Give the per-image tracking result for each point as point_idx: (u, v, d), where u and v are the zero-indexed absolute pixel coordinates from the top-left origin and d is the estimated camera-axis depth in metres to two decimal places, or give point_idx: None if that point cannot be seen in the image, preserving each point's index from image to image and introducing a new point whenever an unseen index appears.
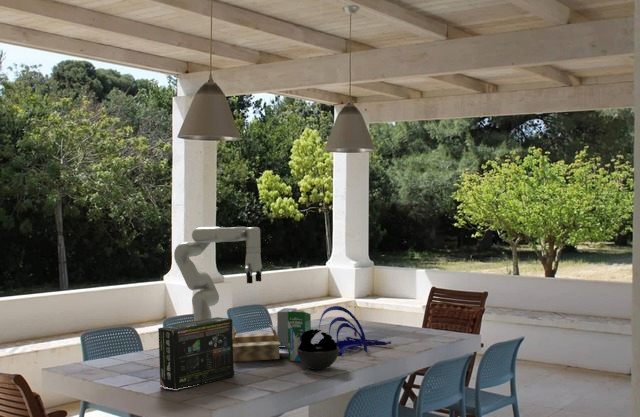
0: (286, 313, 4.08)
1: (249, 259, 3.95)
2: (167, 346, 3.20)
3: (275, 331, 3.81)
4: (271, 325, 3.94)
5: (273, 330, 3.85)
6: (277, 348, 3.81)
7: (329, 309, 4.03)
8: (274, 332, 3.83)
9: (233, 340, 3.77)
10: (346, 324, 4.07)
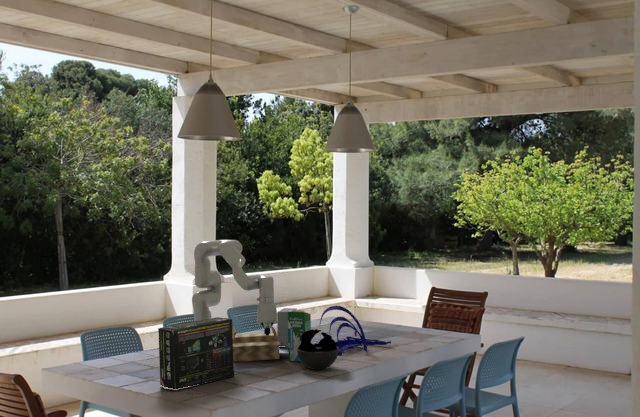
0: (286, 313, 4.08)
1: None
2: (167, 346, 3.20)
3: (275, 331, 3.81)
4: None
5: (273, 330, 3.85)
6: (277, 348, 3.81)
7: (329, 309, 4.04)
8: (274, 332, 3.83)
9: (233, 340, 3.77)
10: (346, 324, 4.08)
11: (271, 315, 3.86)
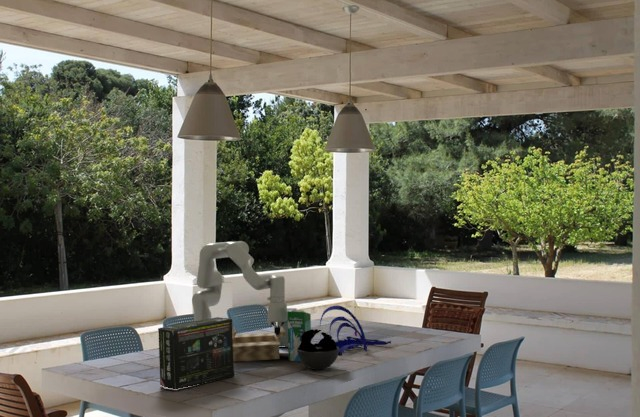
0: None
1: None
2: (167, 346, 3.20)
3: None
4: None
5: (283, 331, 3.86)
6: (277, 348, 3.81)
7: (329, 309, 4.05)
8: (283, 333, 3.84)
9: (233, 340, 3.77)
10: (346, 324, 4.08)
11: (281, 315, 3.87)
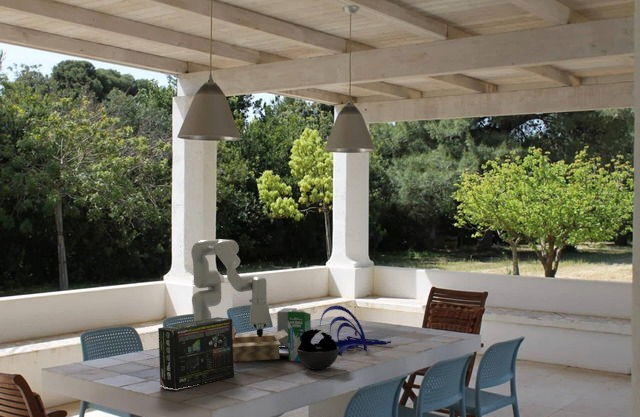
0: (286, 313, 4.08)
1: None
2: (167, 346, 3.20)
3: (286, 336, 3.82)
4: (285, 331, 3.95)
5: (285, 334, 3.86)
6: (277, 348, 3.81)
7: (329, 308, 4.05)
8: (284, 335, 3.84)
9: (233, 340, 3.77)
10: (346, 323, 4.09)
11: (264, 317, 3.86)
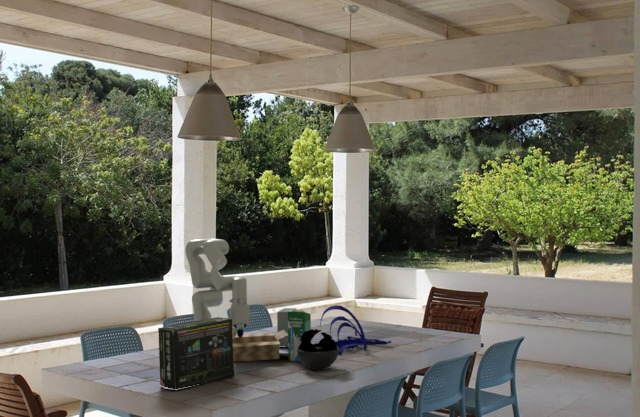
0: (286, 313, 4.08)
1: None
2: (167, 346, 3.20)
3: (286, 336, 3.82)
4: None
5: (285, 334, 3.86)
6: (277, 348, 3.81)
7: (329, 308, 4.05)
8: (284, 335, 3.84)
9: (233, 340, 3.77)
10: (346, 323, 4.09)
11: (244, 317, 3.84)
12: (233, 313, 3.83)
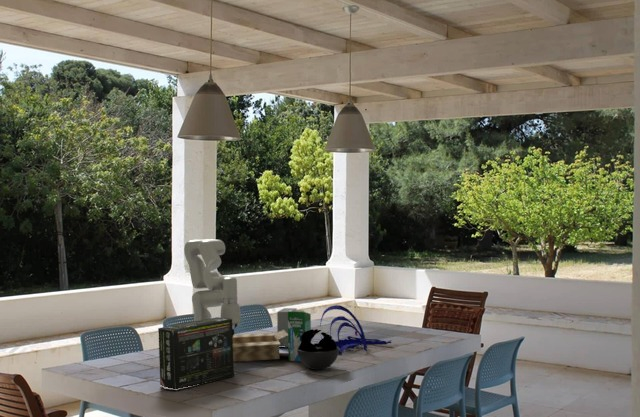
0: (286, 313, 4.08)
1: None
2: (167, 346, 3.20)
3: (286, 336, 3.82)
4: None
5: (285, 334, 3.86)
6: (277, 348, 3.81)
7: (329, 308, 4.06)
8: (284, 335, 3.84)
9: None
10: (347, 323, 4.10)
11: (235, 316, 3.83)
12: (224, 313, 3.82)
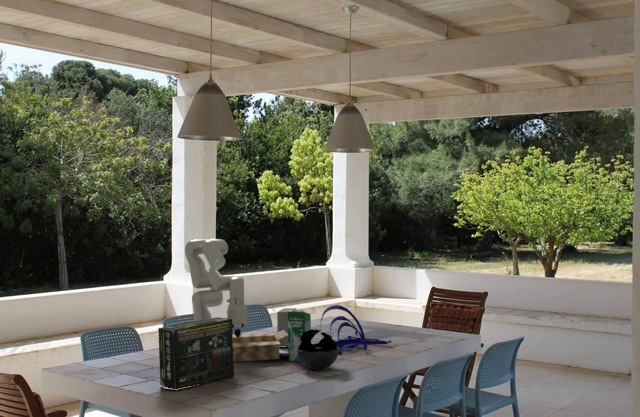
0: (286, 313, 4.08)
1: None
2: (167, 346, 3.20)
3: (286, 336, 3.82)
4: None
5: (285, 334, 3.86)
6: (277, 348, 3.81)
7: (330, 308, 4.06)
8: (284, 335, 3.84)
9: None
10: (347, 323, 4.10)
11: (241, 317, 3.83)
12: (230, 313, 3.82)
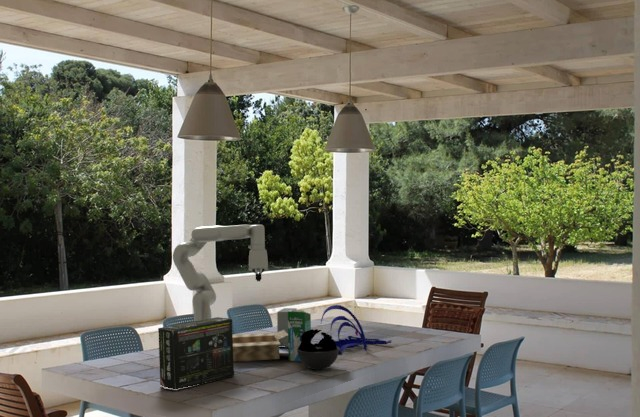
0: (286, 313, 4.08)
1: None
2: (167, 346, 3.20)
3: (286, 336, 3.82)
4: None
5: (285, 334, 3.86)
6: (277, 348, 3.81)
7: (330, 308, 4.07)
8: (284, 335, 3.84)
9: None
10: (347, 323, 4.10)
11: (262, 262, 4.04)
12: (252, 258, 4.03)
